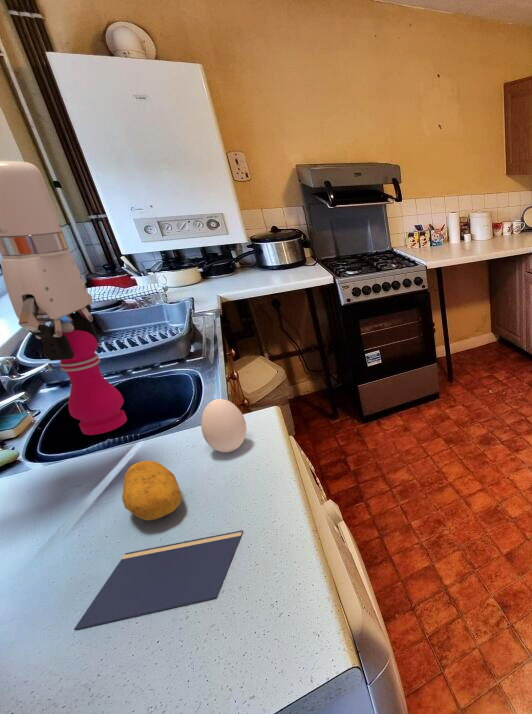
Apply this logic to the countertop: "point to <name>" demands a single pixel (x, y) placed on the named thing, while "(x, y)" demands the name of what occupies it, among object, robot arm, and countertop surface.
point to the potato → (150, 490)
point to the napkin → (163, 579)
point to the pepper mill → (90, 386)
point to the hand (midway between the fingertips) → (75, 350)
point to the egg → (223, 425)
